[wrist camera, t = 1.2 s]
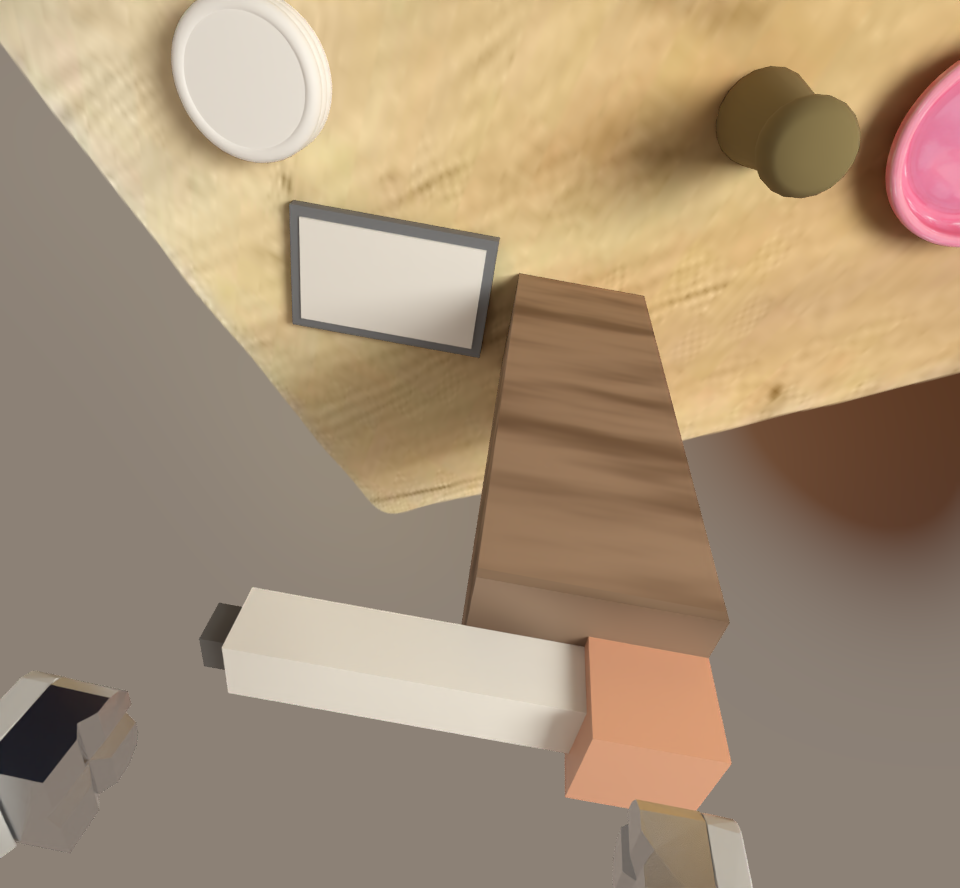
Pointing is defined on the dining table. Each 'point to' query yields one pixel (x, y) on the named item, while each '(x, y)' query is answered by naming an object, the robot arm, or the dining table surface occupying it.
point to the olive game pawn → (787, 132)
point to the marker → (488, 690)
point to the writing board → (390, 278)
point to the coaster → (251, 77)
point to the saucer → (929, 163)
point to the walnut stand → (589, 485)
